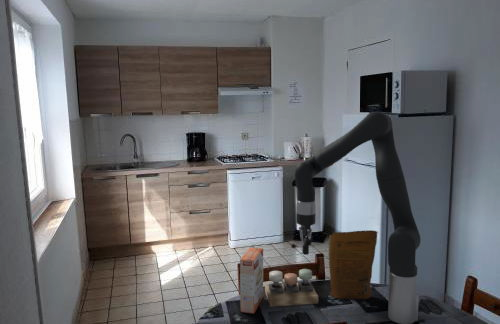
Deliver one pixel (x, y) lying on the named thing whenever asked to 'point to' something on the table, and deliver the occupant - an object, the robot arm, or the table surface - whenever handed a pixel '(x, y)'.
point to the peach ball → (290, 279)
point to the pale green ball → (305, 275)
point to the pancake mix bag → (351, 263)
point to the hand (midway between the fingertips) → (305, 253)
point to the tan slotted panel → (291, 294)
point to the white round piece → (276, 277)
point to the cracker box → (251, 280)
